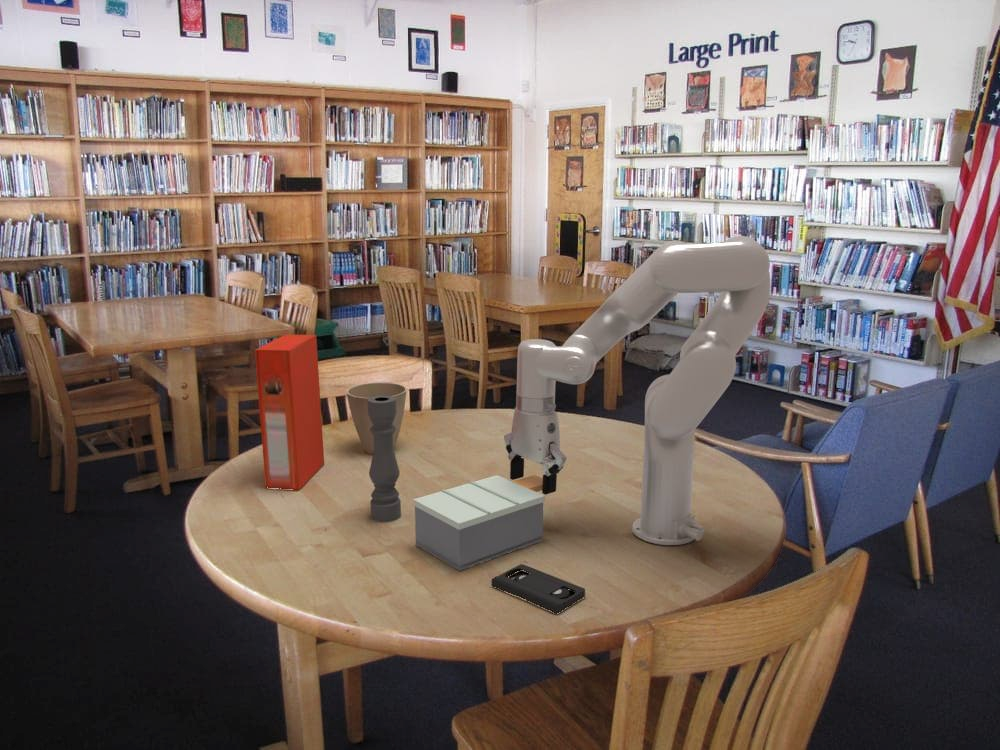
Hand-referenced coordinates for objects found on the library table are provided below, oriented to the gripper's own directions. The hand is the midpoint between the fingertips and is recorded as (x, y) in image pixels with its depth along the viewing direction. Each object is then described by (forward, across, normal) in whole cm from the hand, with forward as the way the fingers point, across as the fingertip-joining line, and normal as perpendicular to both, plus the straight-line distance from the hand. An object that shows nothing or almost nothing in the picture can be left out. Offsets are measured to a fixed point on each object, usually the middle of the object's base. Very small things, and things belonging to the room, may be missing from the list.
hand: (532, 485), depth 170 cm
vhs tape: (+9, -22, +18) cm, 30 cm away
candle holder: (+9, +22, +21) cm, 31 cm away
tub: (+8, -1, +14) cm, 16 cm away
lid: (0, 0, +11) cm, 11 cm away
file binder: (+10, +55, +25) cm, 61 cm away
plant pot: (+9, +59, 0) cm, 60 cm away
